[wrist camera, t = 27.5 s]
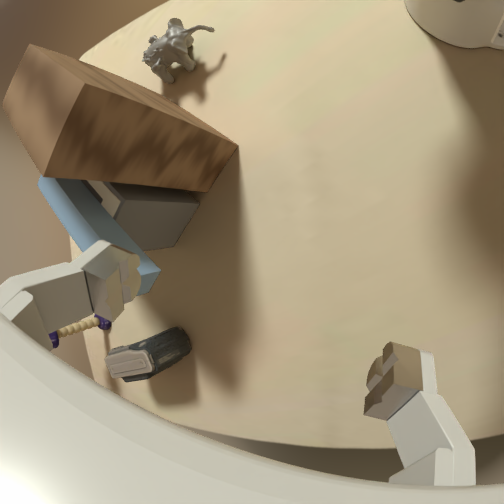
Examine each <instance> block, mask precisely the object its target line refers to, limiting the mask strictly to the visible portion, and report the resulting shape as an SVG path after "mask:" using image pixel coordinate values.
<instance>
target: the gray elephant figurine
mask: <svg viewBox="0 0 504 504" xmlns="http://www.w3.org/2000/svg"><path fill="white" fill-rule="evenodd" d="M200 29H202V30H207V31H209V32H214V31H215V30H214V28H212V27H207V26H202V25H197V26H195V27H192V28H190V29H184V28H183V24H182V22H181V20H180V19H177V18H172V19H170V20H169V22H168V30H167V31H166V34H165V35H163V36H162V37H161V38H159V39H158V38H157V36H156V35H154V36H152V37H150V40H149V43H151V45H150V47H148V49H147V50H146V51H144V57H143V58H144V59H142V61H145V63H146V64H147V65H148V66H150V67H151V70H152V72H153V73H155V74H156V75H157V76H159V77H160V78H161V79H162V80H163V81H164V82H165V83H168V84H170V83H172V82H173V81H174V78H173V76H172V75H171V74H169V73H168V71H167V67H168V66H169V65H171V64H172V63H173V62H177V63H179V64H181V65H182V66H183V67H184V68H185V69H186V70H187V71H193V70H194V67H195V61H194V60H191V59H190V57H189V56H188V50H187V48H188V47H191V45H192V43H193V41H194V39H193V37H192V36H191V34H192V33H193V32H195V31H196V30H200Z"/></svg>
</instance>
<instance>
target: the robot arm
mask: <svg viewBox="0 0 504 504" xmlns="http://www.w3.org/2000/svg"><path fill="white" fill-rule="evenodd" d="M405 5H406V7H407V10H408V12H409V13H410V15H411V16H412V18H413V19H414V20H415V21H416V22H417V23H418V24H419V25H420V26H421V27H422V28H423V29H424V30H426V31H427V32H428V33H430V34H431V35H433V36H435V37H436V38H438V39H440V40H442V41H444V42H447V43H449V44H452V45H455V46H459V47H464V48H478V47H485V46H488V47H492V48H495V49H500V50H503V49H504V0H405ZM499 36H501V37H499ZM139 266H140V257H139V256H138V255H137V254H135V253H133V252H131V251H128V250H126V249H124V248H121V247H119V246H117V245H115V244H111V243H109V242H107V241H105V240H98V241H97V242H96V243H95V244H93V245H92V246H91V247H89V248H88V249H87V250H86V251H84V252H83V253H82V254H81V255H79V256H78V257H77V258H76V259H74V260H73V261H72V262H71V263H67V262H65V263H61V264H57V265H53V266H50V267H46V268H42V269H39V270H35V271H31V272H28V273H24V274H20V275H17V276H13V277H10V278H8V279H7V280H6V281H5V282H4V283H2V284H1V285H0V504H504V483H500V484H489V485H476V470H475V449H474V448H473V446H472V444H471V442H470V441H469V439H468V437H467V436H466V434H465V432H464V431H463V429H462V427H461V426H460V424H459V423H458V421H457V419H456V418H455V416H454V415H453V413H452V411H451V410H450V408H449V407H448V405H447V404H446V402H445V400H444V399H443V397H442V396H441V395H438V393H437V383H436V374H435V366H434V358H433V355H432V353H431V352H428V351H424V350H420V349H415V348H412V347H408V346H405V345H401V344H397V343H394V342H389V343H387V344H386V346H385V347H384V348H383V355H382V356H380V357H378V358H376V359H375V361H374V362H373V364H372V365H371V367H370V370H369V372H368V376H367V383H366V386H367V388H368V390H369V391H370V392H369V394H368V395H367V396H366V397H365V405H364V415H366V416H370V417H374V418H378V419H382V420H386V421H387V425H388V427H389V430H390V432H391V435H392V437H393V440H394V442H395V445H396V447H397V450H398V453H399V455H400V458H401V460H402V463H403V465H404V468H405V469H404V470H401V471H400V472H398V473H396V474H394V475H393V476H391V477H390V478H389V483H386V482H378V481H370V480H362V479H356V478H350V477H344V476H339V475H334V474H328V473H323V472H319V471H314V470H309V469H306V468H302V467H298V466H294V465H289V464H286V463H282V462H279V461H275V460H272V459H268V458H265V457H262V456H258V455H255V454H252V453H249V452H246V451H243V450H240V449H237V448H235V447H232V446H229V445H226V444H223V443H221V442H218V441H215V440H213V439H210V438H208V437H205V436H203V435H200V434H198V433H195V432H193V431H191V430H188V429H186V428H184V427H181V426H179V425H177V424H175V423H173V422H170V421H168V420H166V419H164V418H162V417H160V416H158V415H156V414H154V413H152V412H150V411H148V410H146V409H144V408H142V407H140V406H138V405H136V404H134V403H132V402H130V401H128V400H126V399H125V398H123V397H121V396H119V395H117V394H116V393H114V392H112V391H110V390H109V389H107V388H105V387H104V386H102V385H100V384H98V383H97V382H95V381H94V380H92V379H90V378H89V377H87V376H86V375H84V374H82V373H81V372H79V371H78V370H76V369H75V368H73V367H71V366H70V365H69V364H67V363H65V362H64V361H63V360H61V359H60V358H58V357H57V356H55V355H54V354H53V353H51V352H50V351H51V350H52V349H53V344H52V342H51V340H50V337H49V335H48V334H50V333H52V332H54V331H56V330H59V329H61V328H63V327H65V326H68V325H70V324H72V323H74V322H76V321H78V320H81V319H83V318H85V317H88V316H90V315H92V314H93V313H95V314H97V315H99V316H101V317H103V318H105V319H107V320H109V321H111V322H114V321H115V320H116V318H117V317H118V316H119V315H120V314H121V313H122V312H123V310H124V304H125V303H128V302H131V301H132V300H133V299H134V298H135V297H136V295H137V293H138V291H139V289H140V285H141V275H140V273H139V272H138V270H137V268H138V267H139Z"/></svg>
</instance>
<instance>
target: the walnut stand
mask: <svg viewBox="0 0 504 504" xmlns="http://www.w3.org/2000/svg"><path fill="white" fill-rule="evenodd" d="M2 107H3V108H4V110H5V112H6V114H7V116H8V118H9V120H10V122H11V124H12V125H13V127H14V129H15V131H16V133H17V135H18V136H19V138H20V140H21V142H22V143H23V145H24V147H25V148H26V150H27V152H28V154H29V155H30V157H31V159H32V160H33V162H34V163H35V165H36V167H37V168H38V170H39V171H40V173H41V175H42V176H43V177H50V178H66V179H80V180H93V181H106V182H117V183H128V184H138V185H148V186H157V187H166V188H175V189H183V190H192V191H200V192H208V190H209V189H210V187H211V186H212V184H213V183H214V181H215V180H216V178H217V177H218V175H219V174H220V172H221V171H222V169H223V168H224V166H225V165H226V163H227V162H228V160H229V159H230V157H231V156H232V154H233V153H234V151H235V150H236V148H237V147H238V145H237V144H236V143H234V142H233V141H231V140H230V139H228V138H227V137H225V136H224V135H222V134H221V133H219V132H218V131H216V130H215V129H214V128H212V127H211V126H209V125H208V124H206V123H205V122H203V121H201V120H200V119H198V118H197V117H195V116H194V115H192V114H191V113H189V112H188V111H186V110H184V109H183V108H181V107H180V106H178V105H177V104H175V103H173V102H172V101H170V100H169V99H167V98H165V97H164V96H162V95H160V94H158V93H156V92H154V91H152V90H149V89H147V88H145V87H143V86H140V85H138V84H136V83H134V82H131V81H129V80H127V79H124V78H122V77H120V76H117V75H115V74H112V73H110V72H107V71H105V70H103V69H100V68H97V67H95V66H92V65H90V64H87V63H85V62H82V61H79V60H76V59H74V58H71V57H68V56H65V55H63V54H60V53H57V52H54V51H51V50H48V49H45V48H42V47H39V46H35V45H32V44H29V46H28V48H27V50H26V52H25V54H24V56H23V58H22V60H21V62H20V64H19V66H18V68H17V70H16V72H15V74H14V77H13V79H12V81H11V83H10V86H9V88H8V91H7V93H6V96H5V98H4V101H3V103H2Z"/></svg>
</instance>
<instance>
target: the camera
mask: <svg viewBox="0 0 504 504" xmlns="http://www.w3.org/2000/svg"><path fill="white" fill-rule="evenodd" d="M188 340H189V338H188V337H187V335H186V334H185V332H184V331H183V329H182V328H181V327H179V326H178V327H174V328H171V329H168V330H166V331H163V332H161V333H159V334H157V335H154V336H152V337H150V338H148V339H145V340H142V341H140V342H137V343H134V344H131V345H127V346H120V347H117V348H114V349H111V350H110V352H108V356H107V357H106V358H105V363H106V365H107V367H108V370H109V372H110V374H111V376H112V378H120V377H121V378H122V379H123V380H124V381H125V382H132V381H138V380H144V379H149V378H151V377H152V376H154V375H156V374H158V373H159V372H161V371H163V370H164V369H166V368H169V367H171V366H172V365H173V364H175V363H176V362H178V361H179V360H181V359H182V358H183V356H186V355H187V354H188V353H189V352H190V350H191V347H190V345H189V342H188Z"/></svg>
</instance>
